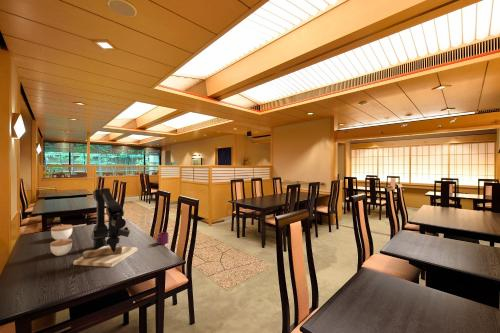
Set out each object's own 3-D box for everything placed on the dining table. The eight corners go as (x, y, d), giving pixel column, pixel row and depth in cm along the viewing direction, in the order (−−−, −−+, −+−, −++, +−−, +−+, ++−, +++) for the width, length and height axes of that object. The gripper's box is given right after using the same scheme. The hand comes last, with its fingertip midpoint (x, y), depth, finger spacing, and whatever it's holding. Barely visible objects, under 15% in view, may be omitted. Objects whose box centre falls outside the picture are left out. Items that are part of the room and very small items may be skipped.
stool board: (73, 264, 128) (73, 260, 128) (104, 248, 152) (104, 245, 152) (111, 266, 125) (111, 262, 125) (137, 250, 149) (137, 247, 149)
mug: (170, 242, 166) (170, 232, 166) (160, 246, 156) (160, 236, 156) (162, 240, 168) (162, 231, 168) (152, 245, 159) (152, 235, 159)
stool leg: (82, 258, 130) (82, 253, 130) (83, 256, 133) (83, 251, 133) (121, 252, 139) (121, 247, 139) (122, 250, 142) (122, 246, 142)
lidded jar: (73, 253, 143) (73, 238, 143) (51, 258, 135) (51, 243, 135) (70, 249, 150) (70, 235, 150) (49, 253, 142) (49, 238, 142)
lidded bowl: (75, 238, 172) (75, 223, 172) (54, 243, 161) (54, 227, 161) (68, 235, 179) (68, 221, 179) (48, 239, 168) (48, 224, 168)
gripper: (128, 227, 132) (128, 254, 132) (129, 220, 148) (129, 244, 148) (106, 230, 127) (106, 258, 127) (109, 222, 143) (109, 247, 143)
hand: (113, 251), depth 136 cm, fingers closed
